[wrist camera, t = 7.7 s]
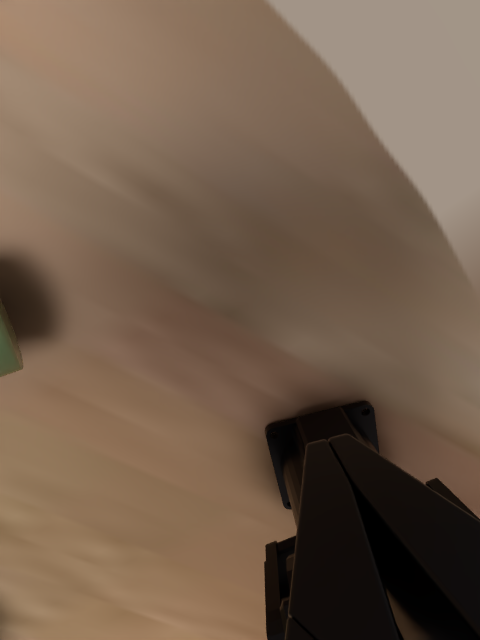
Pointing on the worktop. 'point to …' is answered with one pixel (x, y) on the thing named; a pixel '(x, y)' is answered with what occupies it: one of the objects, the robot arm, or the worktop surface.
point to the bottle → (8, 345)
